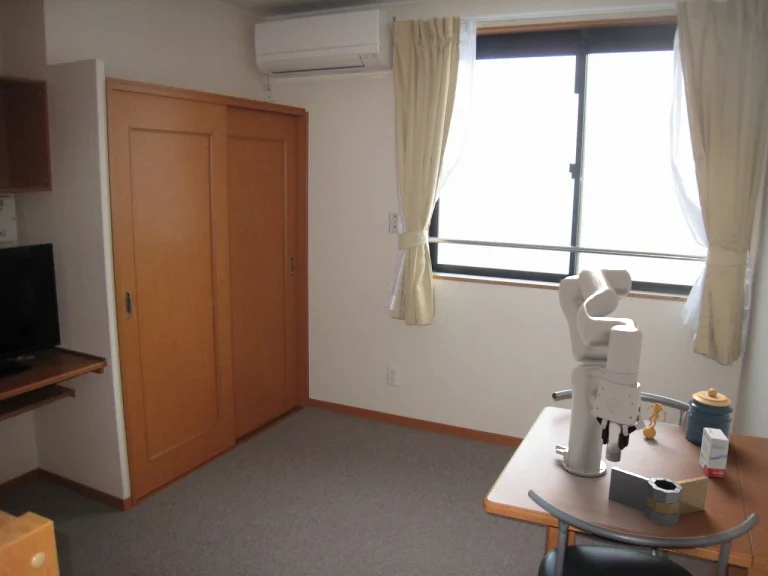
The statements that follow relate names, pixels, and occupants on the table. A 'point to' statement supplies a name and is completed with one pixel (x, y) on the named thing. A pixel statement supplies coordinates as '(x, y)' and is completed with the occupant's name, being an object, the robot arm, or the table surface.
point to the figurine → (650, 431)
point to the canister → (708, 414)
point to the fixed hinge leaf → (644, 493)
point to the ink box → (714, 452)
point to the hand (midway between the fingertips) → (614, 444)
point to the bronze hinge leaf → (684, 498)
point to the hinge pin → (614, 442)
